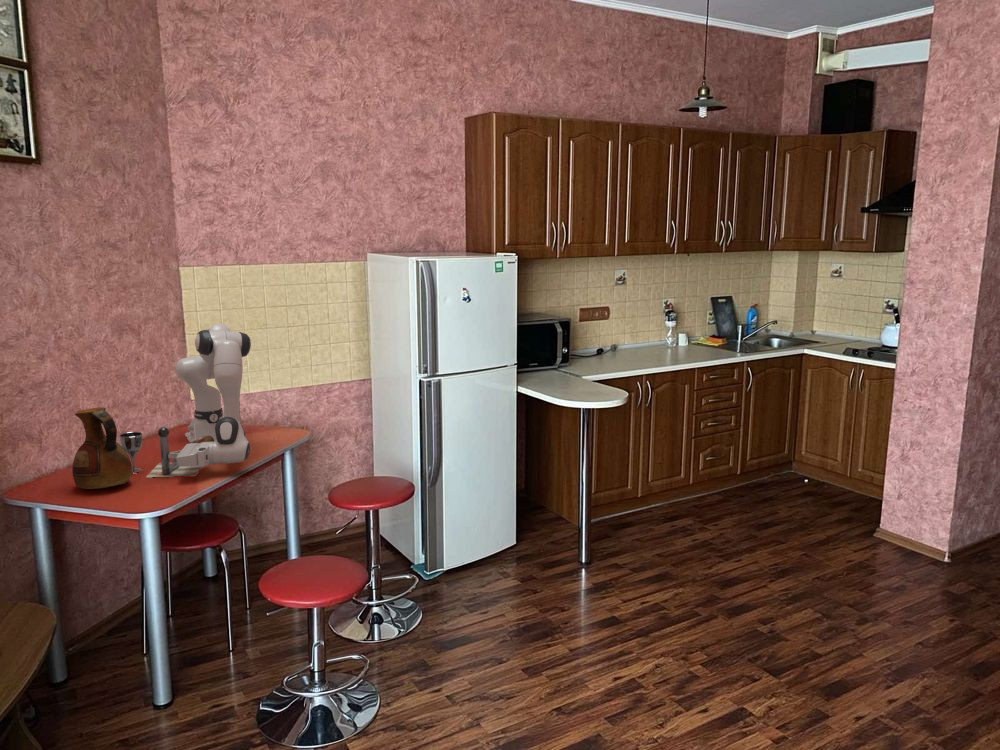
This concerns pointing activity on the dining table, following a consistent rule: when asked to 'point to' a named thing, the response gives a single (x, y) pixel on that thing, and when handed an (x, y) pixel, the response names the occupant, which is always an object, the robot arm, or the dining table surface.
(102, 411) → the ceramic pitcher
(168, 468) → the lever
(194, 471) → the beige square panel
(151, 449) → the dining table surface
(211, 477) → the dining table surface
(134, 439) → the silver goblet
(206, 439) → the tin
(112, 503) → the dining table surface
